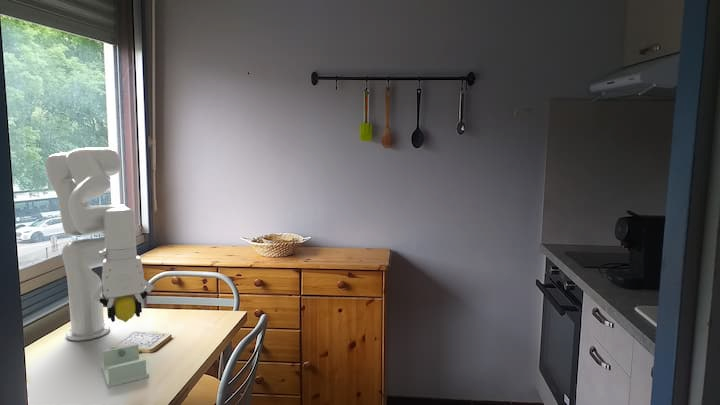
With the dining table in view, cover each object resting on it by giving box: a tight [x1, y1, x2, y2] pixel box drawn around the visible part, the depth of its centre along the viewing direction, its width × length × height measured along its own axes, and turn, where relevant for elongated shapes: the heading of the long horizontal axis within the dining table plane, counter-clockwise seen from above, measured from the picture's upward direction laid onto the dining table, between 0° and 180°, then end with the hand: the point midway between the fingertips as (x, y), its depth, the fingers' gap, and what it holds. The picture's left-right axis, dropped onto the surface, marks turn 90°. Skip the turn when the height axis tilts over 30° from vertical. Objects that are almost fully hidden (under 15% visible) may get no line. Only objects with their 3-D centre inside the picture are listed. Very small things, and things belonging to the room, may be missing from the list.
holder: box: [101, 343, 150, 388], centre depth 132 cm, size 13×10×5 cm
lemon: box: [113, 295, 136, 323], centre depth 131 cm, size 6×6×8 cm
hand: (125, 317), depth 131 cm, fingers closed on lemon, 5 cm apart
